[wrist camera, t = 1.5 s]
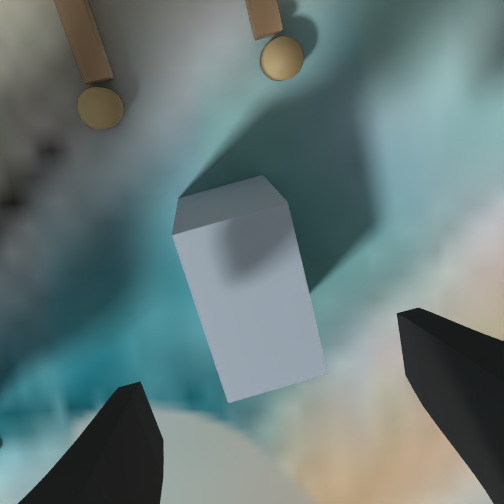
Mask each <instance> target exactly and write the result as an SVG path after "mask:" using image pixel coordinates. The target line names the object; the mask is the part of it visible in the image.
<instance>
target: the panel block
mask: <svg viewBox="0 0 504 504" xmlns="http://www.w3.org/2000/svg"><path fill="white" fill-rule="evenodd" d="M172 237H173V240H174V243H175V246H176V249H177V252H178V255H179V258H180V261H181V263H182V266H183V269H184V272H185V275H186V278H187V281H188V284H189V287H190V290H191V293H192V296H193V299H194V302H195V305H196V308H197V311H198V314H199V317H200V320H201V323H202V326H203V329H204V332H205V335H206V338H207V341H208V344H209V347H210V350H211V353H212V356H213V359H214V362H215V365H216V368H217V371H218V374H219V377H220V380H221V383H222V386H223V389H224V392H225V395H226V398H227V401H228V403H230V402H234V401H237V400H241V399H244V398H247V397H251V396H254V395H258V394H261V393H265V392H268V391H271V390H275V389H278V388H282V387H285V386H288V385H292V384H295V383H299V382H302V381H305V380H309V379H312V378H316V377H319V376H322V375H326V374H328V372H327V367H326V363H325V359H324V354H323V350H322V346H321V341H320V337H319V333H318V329H317V324H316V320H315V316H314V311H313V307H312V303H311V299H310V294H309V290H308V286H307V281H306V277H305V273H304V269H303V264H302V260H301V256H300V251H299V247H298V243H297V239H296V234H295V230H294V226H293V221H292V217H291V213H290V209H289V204H288V202H287V201H286V200H285V199H284V197H283V196H282V195H281V194H280V193H279V192H278V191H277V190H276V189H275V187H274V186H273V185H272V184H271V183H270V182H269V181H268V180H267V179H266V177H265V176H264V175H259V176H256V177H252V178H249V179H245V180H241V181H238V182H234V183H231V184H227V185H224V186H220V187H216V188H213V189H209V190H206V191H202V192H199V193H195V194H191V195H188V196H184V197H181V198H178V203H177V209H176V215H175V221H174V227H173V232H172Z"/></svg>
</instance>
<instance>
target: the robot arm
mask: <svg viewBox="0 0 504 504" xmlns="http://www.w3.org/2000/svg"><path fill="white" fill-rule="evenodd" d="M397 318H398V325H399V332H400V339H401V346H402V353H403V360H404V367H405V375H406V377H407V378H408V380H409V382H410V384H411V386H412V388H413V389H414V391H415V393H416V395H417V396H418V398H419V400H420V402H421V403H422V405H423V407H424V408H425V409H426V411H427V412H428V413H429V415H430V416H431V417H432V419H433V420H434V422H435V423H436V424H437V426H438V427H439V428H440V430H441V431H442V432H443V434H444V435H445V436H446V438H447V439H448V440H449V441H450V443H451V444H452V445H453V447H454V448H455V449H456V451H457V452H458V453H459V455H460V456H461V457H462V459H463V460H464V461H465V463H466V464H467V465H468V467H469V468H470V469H471V471H472V472H473V473H474V475H475V476H476V477H477V479H478V480H479V482H480V483H481V485H482V486H483V488H484V489H485V490H486V492H487V494H488V495H489V497H490V499H491V500H492V502H493V503H494V504H504V341H501V340H499V339H496V338H493V337H491V336H488V335H485V334H483V333H480V332H478V331H475V330H472V329H470V328H468V327H465V326H463V325H460V324H458V323H455V322H453V321H451V320H448V319H446V318H444V317H441V316H439V315H436V314H434V313H431V312H429V311H426V310H424V309H421V308H415V309H411V310H408V311H404V312H400V313H397ZM163 462H164V456H163V438H162V435H161V433H160V430H159V428H158V425H157V422H156V420H155V417H154V415H153V412H152V410H151V407H150V405H149V402H148V399H147V397H146V394H145V392H144V389H143V387H142V384H141V382H137V383H133V384H129V385H126V386H122V387H119V388H118V389H117V390H116V391H115V392H114V393H113V394H112V396H111V397H110V398H109V399H108V401H107V402H106V403H105V405H104V406H103V407H102V408H101V410H100V411H99V412H98V414H97V415H96V416H95V417H94V419H93V420H92V421H91V422H90V424H89V425H88V426H87V427H86V429H85V430H84V431H83V433H82V434H81V435H80V436H79V438H78V439H77V440H76V441H75V442H74V444H73V445H72V446H71V447H70V448H69V449H68V451H67V452H66V453H65V454H64V455H63V456H62V457H61V459H60V460H59V461H58V462H57V463H56V464H55V466H54V467H53V468H52V469H51V470H50V471H49V472H48V474H47V475H46V476H45V477H44V478H43V479H42V480H41V481H40V482H39V483H38V484H37V485H36V486H35V487H34V488H33V489H32V490H31V491H30V492H29V493H28V494H27V495H26V496H25V497H24V498H23V499H22V500H21V501H20V502H19V503H18V504H160V497H161V490H162V482H163Z"/></svg>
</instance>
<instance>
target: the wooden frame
mask: <svg viewBox="0 0 504 504" xmlns="http://www.w3.org/2000/svg"><path fill="white" fill-rule="evenodd" d="M245 1H246V5H247V9H248V14H249V18H250V23H251V27H252V31H253V36H254V40H258V39H261V38H265V37H269V36H272V35H276V34H278V33H280V32H281V31H282V30H283V27H282V23H281V18H280V13H279V8H278V3H277V0H245ZM54 2H55V5H56V8H57V11H58V13H59V16H60V19H61V22H62V24H63V27H64V30H65V33H66V35H67V38H68V41H69V44H70V46H71V49H72V52H73V55H74V57H75V60H76V63H77V66H78V69H79V71H80V74H81V77H82V80H83V82H84V84H94V83H98V82H102V81H106V80H109V79H113V78H114V76H113V73H112V70H111V67H110V64H109V61H108V58H107V55H106V52H105V49H104V46H103V43H102V40H101V37H100V34H99V31H98V28H97V25H96V22H95V19H94V16H93V14H92V11H91V8H90V5H89V2H88V0H54ZM303 59H304V58H303V51H302V48H301V46H300V45H299V43H298V42H297V41H296V40H295V39H293V38H291V37H288V36H280V37H277V38H275V39H273V40H272V41H271V42H269V43H268V44H267V45H266V46H265V47H264V48H263V50H262V52H261V55H260V66H261V69H262V71H263V73H264V74H265V75H266V76H267V77H268V78H270V79H272V80H275V81H282V80H286V79H290V78H292V77H294V76H295V75H296V74H297V73H298V72H299V71H300V69H301V67H302V65H303ZM77 110H78V114H79V116H80V118H81V119H82V121H83V122H84V123H85V124H86V125H88V126H89V127H91V128H94V129H99V130H102V129H107V128H110V127H113V126H115V125H116V124H118V123H119V122H120V120H121V119H122V117H123V114H124V106H123V102H122V100H121V98H120V97H119V96H118V94H117V93H115V92H114V91H113V90H111V89H108V88H102V87H91V88H88V89H86V90H85V91H84V92H83V93H82V94H81V95H80V97H79V99H78V102H77Z"/></svg>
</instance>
